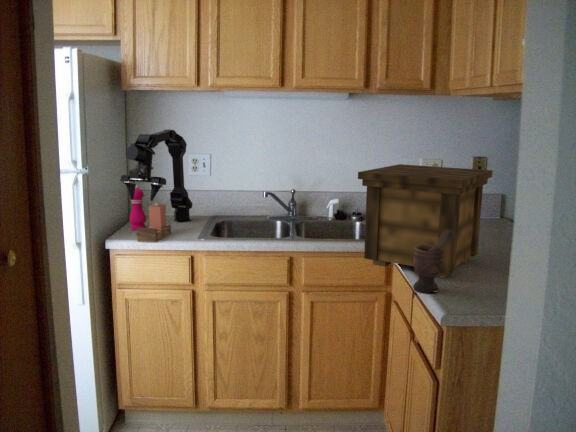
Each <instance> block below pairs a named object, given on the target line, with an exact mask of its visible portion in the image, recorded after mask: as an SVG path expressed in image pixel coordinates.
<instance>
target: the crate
mask: <svg viewBox="0 0 576 432" xmlns="http://www.w3.org/2000/svg"><path fill="white" fill-rule="evenodd" d="M490 178H493V170H492V169H476V168H475V169H474V168H459V167H448V166H447V167H446V166H432V165H431V166H429V165H416V164H415V165H414V164H395V165H390V166H383V167H378V168H372V169H367V170H363V171H357V180H362V183H361V185H362V187H366V195H365V196H366V200H365V202H366V203H365V223H364V224H365V228H364V231H365V232H364V253H363V254H364V255H363V259H364V260H365V259H366V260H370V261H372V265H373V266H374V265H375V266H380V267H387V266H389V265H391V264H392V263H393V264H397V265H398V264H399V265H405V266H410V267H414V263H413V259H414V247H415V246H416V245H422V244H428V245H435V244H436V243H437V241H438V239H439V238H440V236H441V234H442V233H443V232H444V231H445V230H446V229H450V230H452V231H453V232H454V234H453V236H452V238H451V239H450V240H449V241H448V242H447V243H446V244H445V245H444V246H443V247H442V248H443V249H444V254H443V263H442V268H441V270H440V273H439V275H438V276H443V277H446V276H447V275H448V276H450V275H451V274H453V272H455V271H456V267H458V266H459V265H460V264H465V263H467V262H469V260H470V259H469V258H470V257H475V256H477V254H478V253H479V252H478V251H479V249H478V248H479V241H480V240H479V239H480V227H481V226H480V224H481V214H482V212H481V211H482V201H483V191H484V185H487V184H488V182H489V181H488V180H489V179H490ZM449 274H450V275H449ZM448 276H447V277H448ZM443 277H442V278H443ZM447 277H446V278H447Z"/></svg>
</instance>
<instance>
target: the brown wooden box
mask: <svg viewBox="0 0 576 432" xmlns="http://www.w3.org/2000/svg"><path fill="white" fill-rule="evenodd" d="M171 234H172V225H171V224H168V225H166V227H164V228H163V229H161V230H157V228H150V225H149V226H147V227H145V228H137V230H136V239H137V242H139V243H143V242H144V243H158V242H159V241H161V240H162V239H164V238H165V237H167V236H168V235H171Z"/></svg>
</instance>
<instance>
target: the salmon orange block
mask: <svg viewBox="0 0 576 432" xmlns="http://www.w3.org/2000/svg"><path fill="white" fill-rule="evenodd" d="M166 206H167V205H166V204H160V202H155V203H154V204H152V205H150V206H148V217H149V218H148V219H149V220H148V221H149V226H150V228H157V230H161V229H163V228H164V227H166V226H167V210H166Z"/></svg>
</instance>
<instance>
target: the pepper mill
mask: <svg viewBox="0 0 576 432" xmlns="http://www.w3.org/2000/svg"><path fill="white" fill-rule="evenodd" d="M143 197H144V191H143V190H142V189H141V188H139V186H138V185H137V184H136V187H135V193H134V198H133V200H131V199H130V202H131V204H132V207H131V212H130V215H129V223H130V224H131V225H130V230H131V231H137V228H146V224H145V223H146V222H147V216H146V214H145V212H144V210H143V203H144V201H143V200H144V199H143Z"/></svg>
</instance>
